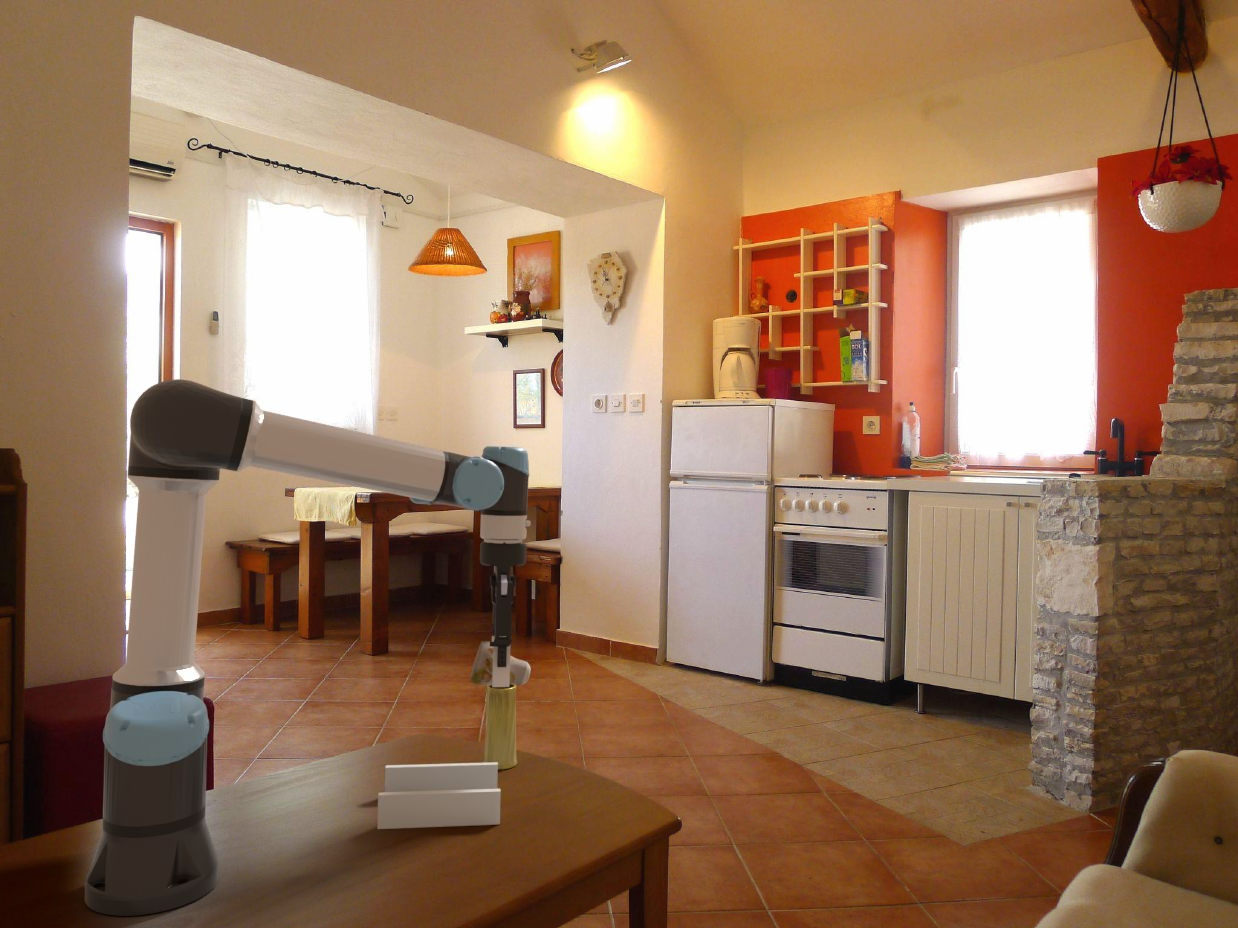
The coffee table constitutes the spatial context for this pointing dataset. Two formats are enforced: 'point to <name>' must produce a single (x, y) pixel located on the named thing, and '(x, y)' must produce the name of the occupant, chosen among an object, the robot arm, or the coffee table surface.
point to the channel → (439, 795)
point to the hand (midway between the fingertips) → (499, 680)
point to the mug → (484, 667)
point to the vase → (501, 726)
